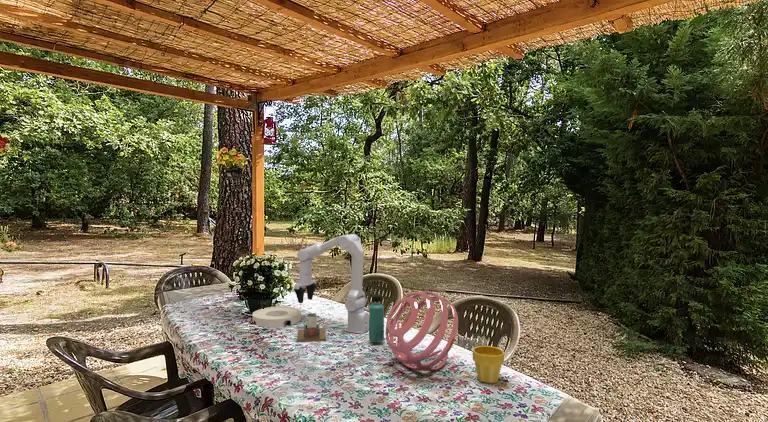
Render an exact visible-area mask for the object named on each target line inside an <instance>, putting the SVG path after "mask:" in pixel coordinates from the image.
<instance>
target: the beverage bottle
mask: <svg viewBox="0 0 768 422" xmlns="http://www.w3.org/2000/svg"><path fill="white" fill-rule="evenodd" d="M371 302H372V303H371V304H369V306H368V310H369V311H368V312H369V313H368V314H369V330H368V339H369V341H370V342H372V343H380V342H383V341H384V339H385V314H384V313H385V306H384V305H383V304H382V303H380V302H382V295H377V294H376V295H375V294H374V295H372V296H371Z"/></svg>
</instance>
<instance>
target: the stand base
mask: <svg viewBox="0 0 768 422" xmlns="http://www.w3.org/2000/svg"><path fill="white" fill-rule="evenodd" d="M296 338H297V339H296V340H297V341H296V342H297V343H306V342H307V343H308V342H310V343H311V342H325V341H327V332H326V328H323V327H322V328H320V324H318V323H317V328H316V329H307V324H303V328H301V329H300V328H299V329H298V330H297V337H296Z"/></svg>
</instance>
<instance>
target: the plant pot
mask: <svg viewBox="0 0 768 422" xmlns="http://www.w3.org/2000/svg"><path fill="white" fill-rule="evenodd" d="M472 360H473V362H474V365H475V369H476V375H477V379H478V381H480V382H482V383H484V384H485V383H487V384H495V383H498V381H499V377H500V373H501V369H502V366H503V364H504V363H505V351H504V350H502V349H501V348H499V347H496V346H490V345H479V346H475V347H473V348H472Z"/></svg>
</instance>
